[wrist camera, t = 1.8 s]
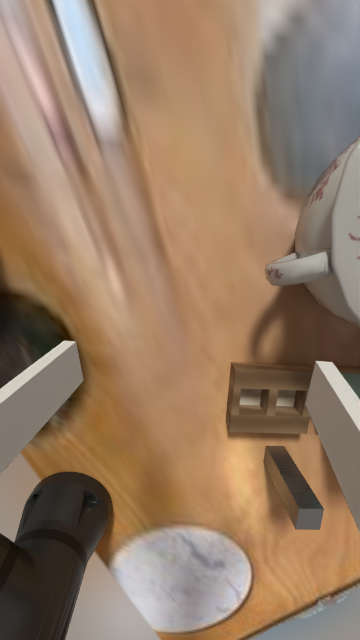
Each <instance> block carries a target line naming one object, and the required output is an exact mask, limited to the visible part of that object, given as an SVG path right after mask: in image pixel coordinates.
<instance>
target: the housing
mask: <svg viewBox="0 0 360 640" xmlns="http://www.w3.org/2000/svg"><path fill="white" fill-rule="evenodd" d="M341 375H342V376H343V377H344V379H345V380H346V381H347V383H348V384H349V386H350V387H351V388H352V390H353V391H354V392H355V394H356V395H357V396H358V398H359V399H360V374H341Z"/></svg>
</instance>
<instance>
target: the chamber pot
mask: <svg viewBox="0 0 360 640" xmlns="http://www.w3.org/2000/svg"><path fill="white" fill-rule="evenodd" d="M265 274H266V279H267V280H268V281H269V282H270V283H271V284H272V285H275V286H285V285H294V284H299V283H304V285H305V287H306V288H307V289H308V290H309V292H310V293H311V294H312V295H313V297H314V298H315V299H316V300H317V301H318V303H319V304H320V305H321V306H323V307H324V308H326V309H328V310H329V311H331V312H332V313H334V314H335V315H337V316H339V317H341V318H342V319H344V320H346V321H347V322H349V323H351V324H353V325H354V326H356V327H358V328H360V136H359V137H358V138H357V139H356V140H354V141H353V142H352V143H351V144H350V145H349V146H348V147H347V148H346V149H345V150H344V151H343V152H342V153H341V154H340V155H339V156H338V157H336V158H335V159H334V160H333V161H332V163H331V164H330V165H329V166H328V167H327V168H326V170H325V171H324V172H323V173H322V174H321V175H320V176H319V178H318V179H317V181H316V183H315V184H314V186H313V188H312V189H311V191H310V193H309V194H308V196H307V198H306V200H305V201H304V203H303V205H302V208H301V212H300V216H299V220H298V224H297V227H296V231H295V252H293V253H291V254H289V255H287V256H285V257H282V258H279V259H277V260H274V261H272V262H270V263H268V264H266V268H265Z"/></svg>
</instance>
